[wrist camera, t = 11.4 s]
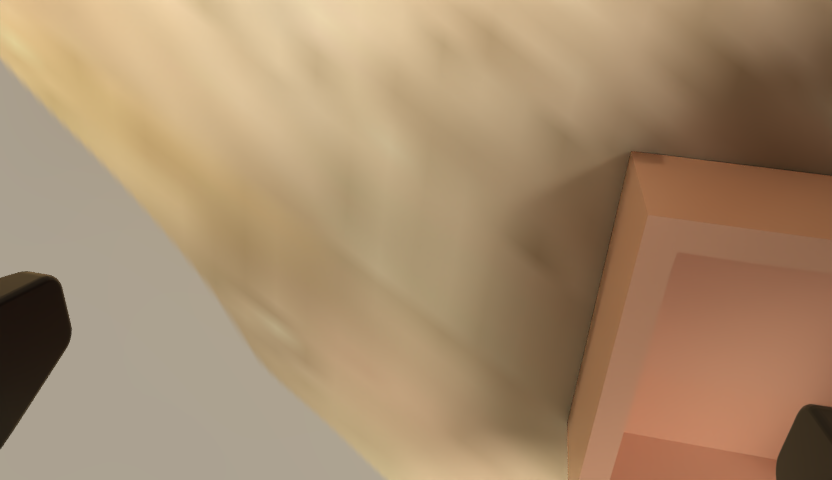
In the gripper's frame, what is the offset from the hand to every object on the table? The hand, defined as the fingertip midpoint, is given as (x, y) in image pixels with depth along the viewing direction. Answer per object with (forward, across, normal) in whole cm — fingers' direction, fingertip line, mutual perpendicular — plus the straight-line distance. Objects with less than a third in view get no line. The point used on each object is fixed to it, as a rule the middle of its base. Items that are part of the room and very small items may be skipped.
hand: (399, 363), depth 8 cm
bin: (+12, -9, +6) cm, 16 cm away
